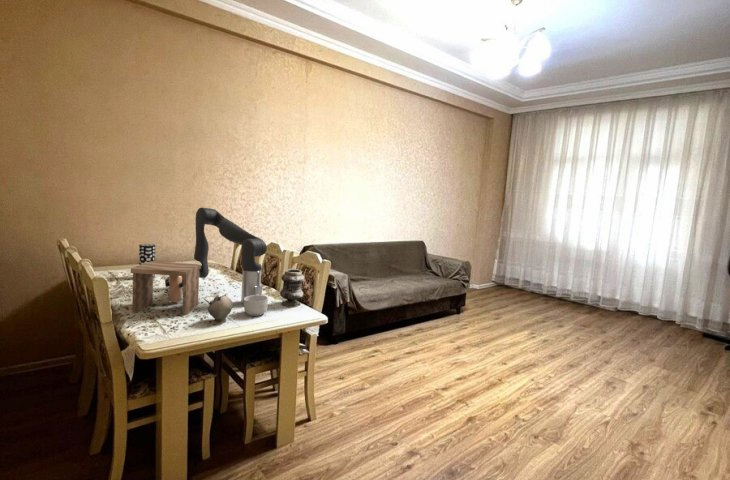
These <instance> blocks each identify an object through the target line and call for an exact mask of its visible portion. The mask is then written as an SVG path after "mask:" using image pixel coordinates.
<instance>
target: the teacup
mask: <svg viewBox="0 0 730 480" xmlns="http://www.w3.org/2000/svg"><path fill="white" fill-rule="evenodd" d="M268 300H269V297H268V296H267V295H263V294H262V295H259V294H256V295H251V296H247V297H245V298H244V304H243V307H244V311H245V313H246V314H248V315H249V316H251V317H258V316H261V315H263V314H264V313H265V312H267V310H268V303H269V302H268Z"/></svg>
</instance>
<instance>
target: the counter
mask: <svg viewBox="0 0 730 480" xmlns="http://www.w3.org/2000/svg"><path fill="white" fill-rule="evenodd" d="M201 265H202V264H201V263H189V262H187V263H185V262H169V261H157V260H155V261H150V262H147V263H144V264H141V265H139V264H138V265H137V266H133V267H131V268H130V273H131V274H132V298H131V299H132V302H131V303H132V306H131V308H132V311H131V313H137V312H139V311H140V310H143V309H144V308H146V307H147V306H149V305H151V304H152V303H153V298H154V297H153V295H154V294H153V292H154V279H153V274H155V276H156V275H159V276H169V275H172V276H183V287H182V308H181V310H182V311H181V312H182V313H181V314H182V316H187V314H189V313H190V312H192V310H193V309H195V308H196V307H197V306H198V305H199V291H200V290H199V287H200V286H199V283H200V280H199V279H200V278H199V269H201Z"/></svg>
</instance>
